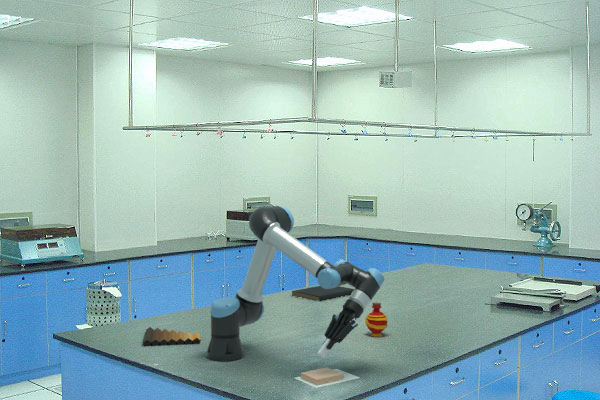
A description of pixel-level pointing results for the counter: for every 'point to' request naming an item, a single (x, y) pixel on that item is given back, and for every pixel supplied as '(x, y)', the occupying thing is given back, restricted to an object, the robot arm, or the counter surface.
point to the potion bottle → (376, 321)
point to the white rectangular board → (346, 378)
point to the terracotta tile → (322, 376)
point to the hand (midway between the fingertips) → (320, 355)
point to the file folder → (322, 293)
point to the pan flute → (169, 337)
